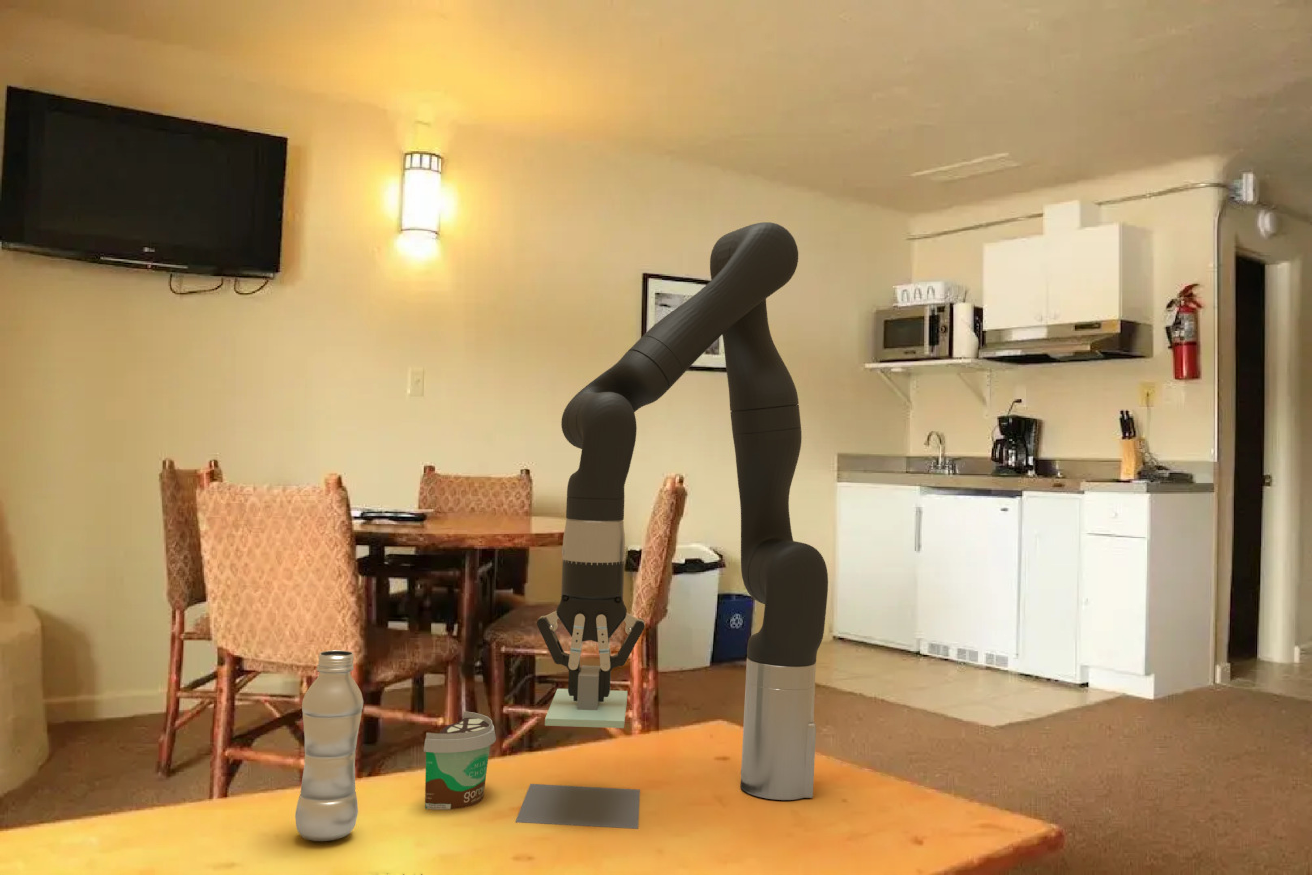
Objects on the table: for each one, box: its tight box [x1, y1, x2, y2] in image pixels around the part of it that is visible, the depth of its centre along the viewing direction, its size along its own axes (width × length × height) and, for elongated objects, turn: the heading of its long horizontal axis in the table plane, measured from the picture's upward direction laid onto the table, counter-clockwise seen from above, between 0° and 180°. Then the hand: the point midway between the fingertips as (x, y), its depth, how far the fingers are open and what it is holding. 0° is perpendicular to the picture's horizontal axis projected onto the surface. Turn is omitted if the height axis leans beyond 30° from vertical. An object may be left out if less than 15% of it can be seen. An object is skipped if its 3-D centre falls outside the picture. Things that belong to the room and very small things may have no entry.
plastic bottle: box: [294, 649, 364, 842], centre depth 112 cm, size 6×7×20 cm
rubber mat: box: [515, 783, 641, 830], centre depth 123 cm, size 14×14×1 cm
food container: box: [423, 710, 497, 811], centre depth 124 cm, size 12×6×10 cm, turn 168°
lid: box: [544, 664, 628, 729], centre depth 124 cm, size 9×15×5 cm, turn 0°
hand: (588, 699), depth 124 cm, fingers closed on lid, 2 cm apart
